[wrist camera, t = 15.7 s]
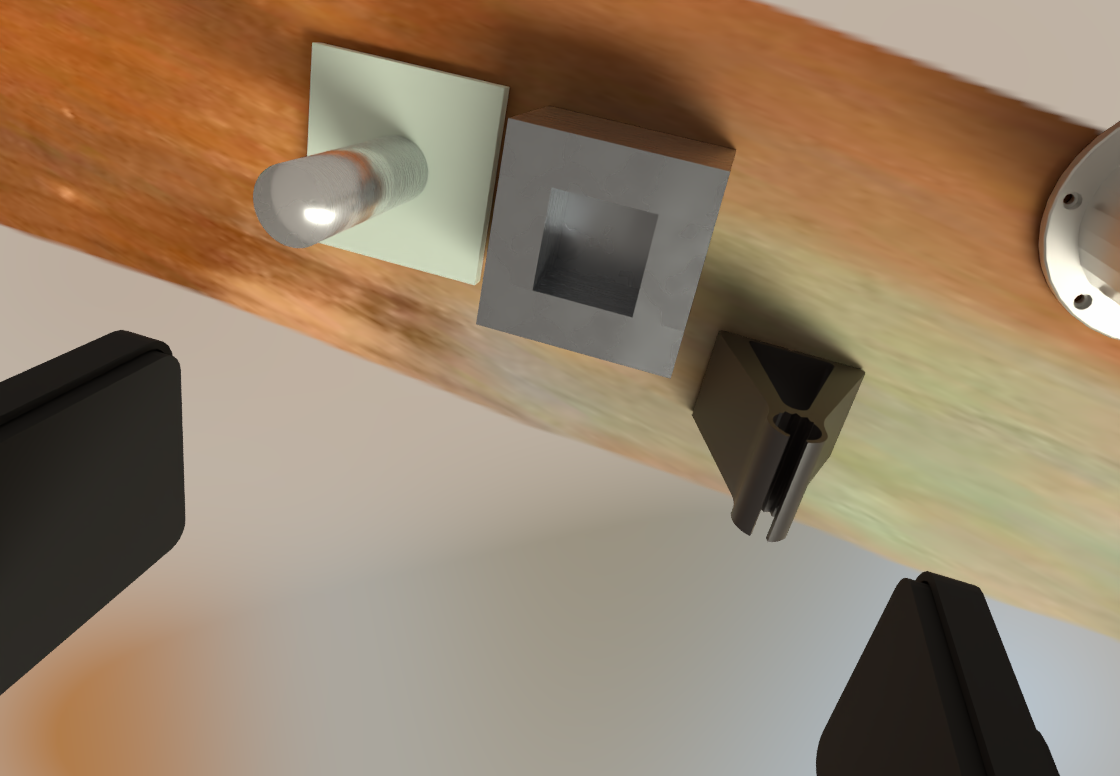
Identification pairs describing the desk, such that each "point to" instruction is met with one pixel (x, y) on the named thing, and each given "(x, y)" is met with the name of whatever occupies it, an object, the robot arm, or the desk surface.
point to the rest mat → (442, 135)
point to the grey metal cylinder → (338, 189)
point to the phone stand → (771, 423)
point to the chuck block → (600, 236)
